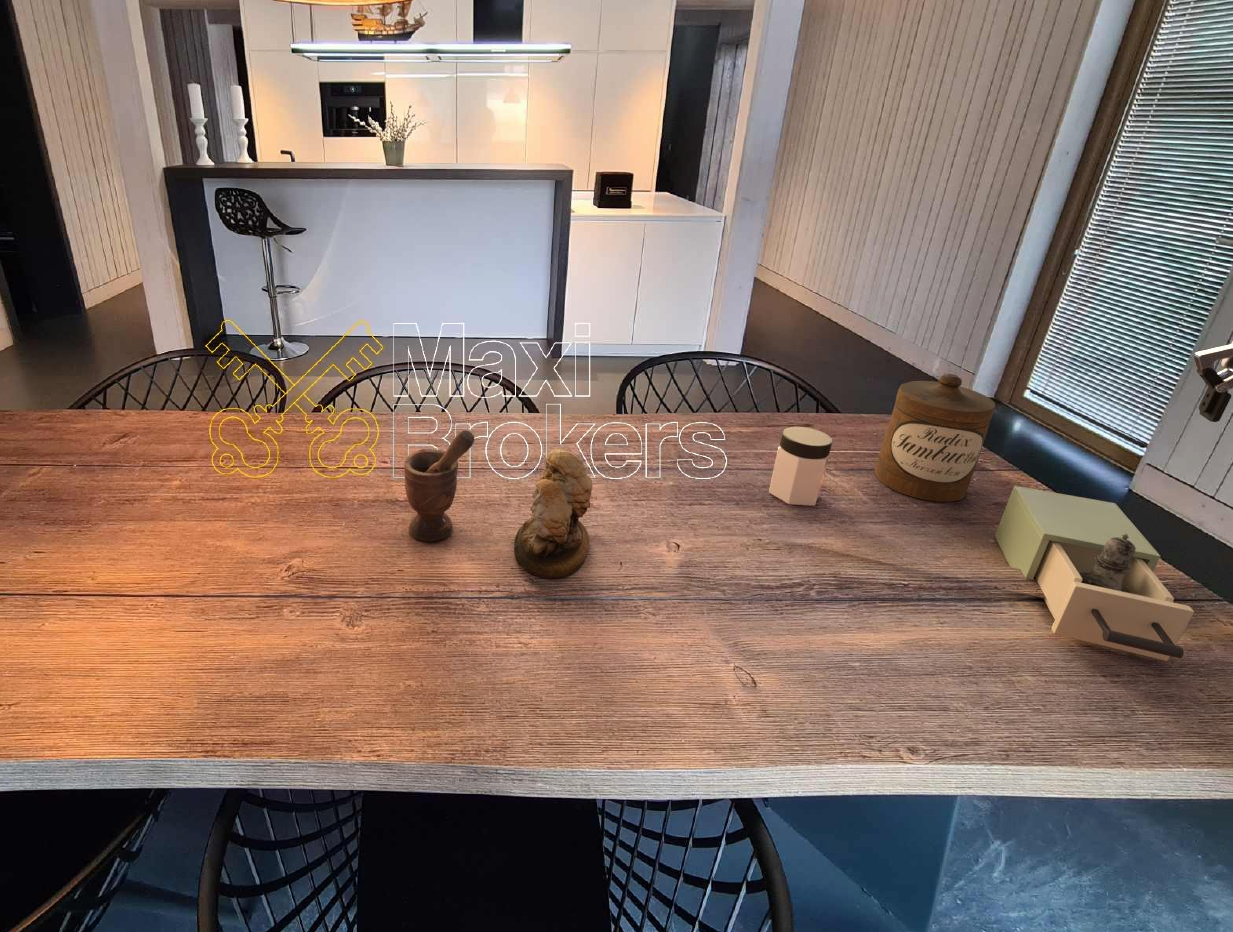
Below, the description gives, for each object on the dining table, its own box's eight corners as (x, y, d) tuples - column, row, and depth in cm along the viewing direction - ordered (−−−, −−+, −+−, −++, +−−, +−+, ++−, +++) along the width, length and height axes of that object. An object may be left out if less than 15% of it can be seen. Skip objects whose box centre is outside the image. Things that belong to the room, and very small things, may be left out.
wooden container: (880, 492, 123) (912, 382, 115) (869, 458, 136) (898, 356, 127) (975, 510, 118) (1016, 396, 110) (955, 472, 131) (991, 367, 122)
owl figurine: (523, 511, 117) (528, 423, 110) (591, 520, 114) (600, 430, 107) (506, 574, 100) (510, 475, 94) (584, 586, 98) (594, 485, 91)
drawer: (1190, 694, 79) (1220, 642, 76) (1069, 663, 84) (1092, 613, 80) (1121, 596, 96) (1144, 550, 92) (1023, 575, 100) (1041, 530, 97)
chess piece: (1114, 602, 93) (1149, 529, 88) (1126, 627, 88) (1164, 552, 83) (1060, 588, 95) (1092, 516, 91) (1069, 611, 91) (1102, 538, 86)
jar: (810, 484, 126) (824, 427, 121) (827, 507, 119) (843, 447, 114) (761, 481, 127) (773, 424, 122) (775, 504, 119) (789, 444, 115)
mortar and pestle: (479, 521, 114) (481, 414, 106) (470, 550, 106) (472, 438, 98) (413, 513, 115) (410, 408, 108) (400, 542, 108) (396, 431, 100)
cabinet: (1131, 613, 94) (1161, 556, 90) (1021, 589, 98) (1044, 533, 94) (1091, 555, 106) (1115, 503, 102) (994, 536, 111) (1014, 485, 107)
